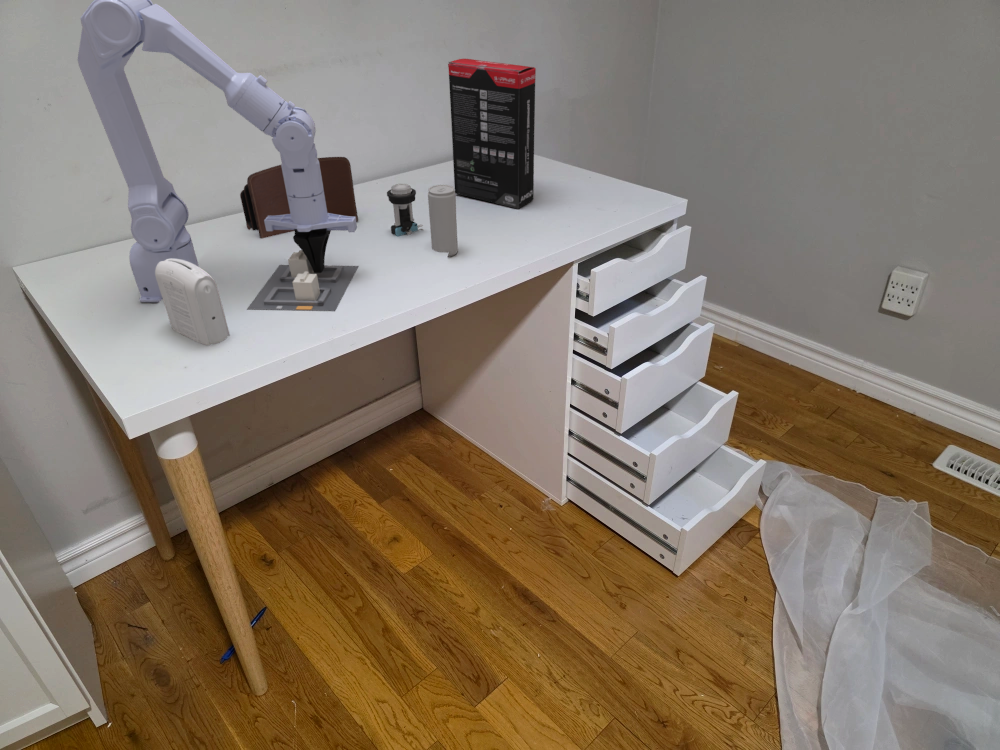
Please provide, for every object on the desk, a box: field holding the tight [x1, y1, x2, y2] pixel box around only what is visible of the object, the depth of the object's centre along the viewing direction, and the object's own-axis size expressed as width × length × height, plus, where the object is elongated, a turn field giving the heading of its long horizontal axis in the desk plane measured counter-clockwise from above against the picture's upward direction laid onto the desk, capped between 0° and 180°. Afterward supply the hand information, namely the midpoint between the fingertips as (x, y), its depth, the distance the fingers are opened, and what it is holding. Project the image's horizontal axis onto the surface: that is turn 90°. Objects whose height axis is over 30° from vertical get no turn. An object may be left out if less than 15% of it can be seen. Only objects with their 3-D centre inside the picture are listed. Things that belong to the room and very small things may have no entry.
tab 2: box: [287, 249, 314, 277], centre depth 116 cm, size 3×3×4 cm
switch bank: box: [246, 264, 359, 312], centre depth 114 cm, size 14×16×2 cm
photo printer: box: [155, 259, 231, 347], centre depth 100 cm, size 10×4×12 cm, turn 55°
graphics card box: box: [447, 58, 537, 210], centre depth 142 cm, size 17×7×27 cm, turn 58°
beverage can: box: [427, 184, 459, 258], centre depth 124 cm, size 5×5×12 cm
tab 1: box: [292, 272, 320, 301], centre depth 109 cm, size 3×3×4 cm
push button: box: [386, 183, 424, 238], centre depth 130 cm, size 7×5×10 cm
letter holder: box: [239, 156, 359, 239], centre depth 135 cm, size 10×20×14 cm, turn 123°
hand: (319, 270), depth 117 cm, fingers closed
